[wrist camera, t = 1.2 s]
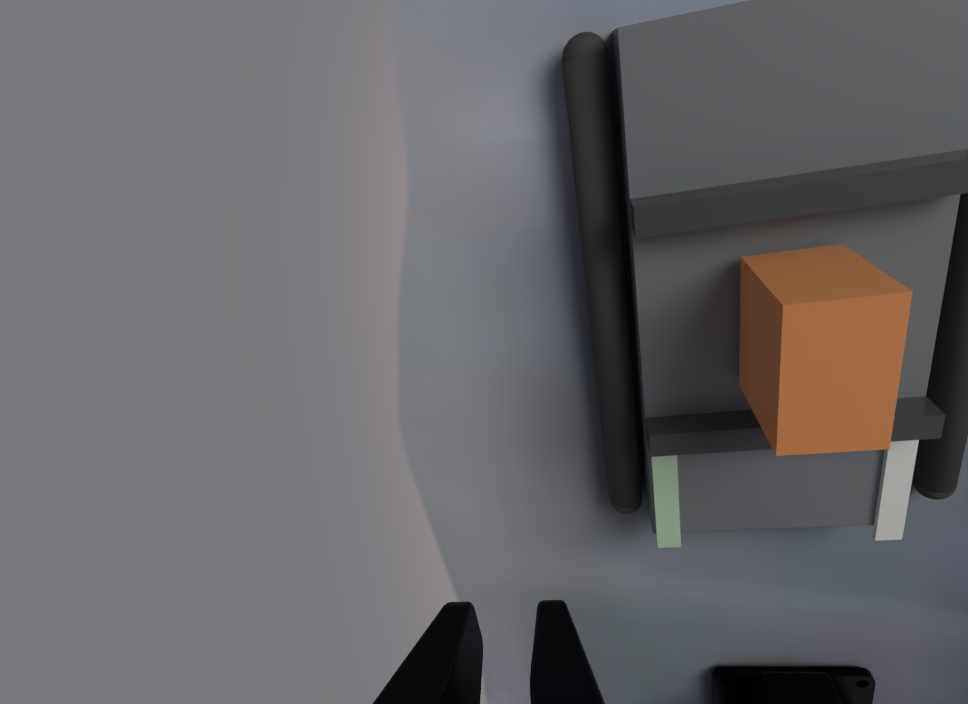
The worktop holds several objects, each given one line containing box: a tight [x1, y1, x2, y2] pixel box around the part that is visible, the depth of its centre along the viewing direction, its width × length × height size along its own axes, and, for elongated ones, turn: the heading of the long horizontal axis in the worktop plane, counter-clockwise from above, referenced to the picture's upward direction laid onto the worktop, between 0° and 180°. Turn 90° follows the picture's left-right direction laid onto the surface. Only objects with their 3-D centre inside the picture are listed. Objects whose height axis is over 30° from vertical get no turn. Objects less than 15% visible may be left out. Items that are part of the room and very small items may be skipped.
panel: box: [612, 0, 968, 548], centre depth 17 cm, size 16×8×3 cm, turn 10°
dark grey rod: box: [562, 32, 642, 514], centre depth 19 cm, size 16×1×1 cm, turn 10°
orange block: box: [739, 244, 913, 456], centre depth 15 cm, size 4×2×4 cm, turn 10°
